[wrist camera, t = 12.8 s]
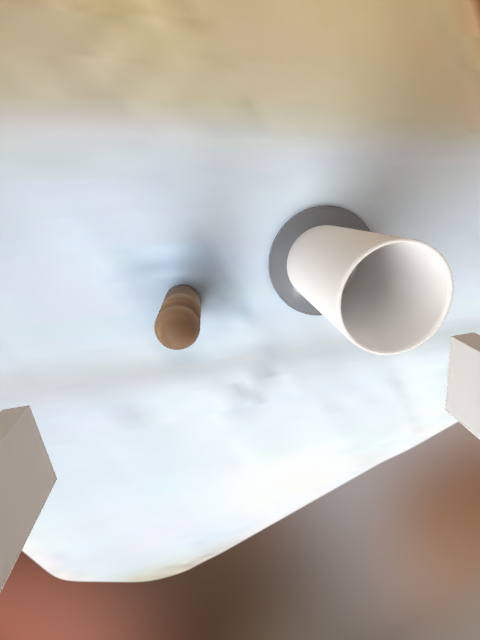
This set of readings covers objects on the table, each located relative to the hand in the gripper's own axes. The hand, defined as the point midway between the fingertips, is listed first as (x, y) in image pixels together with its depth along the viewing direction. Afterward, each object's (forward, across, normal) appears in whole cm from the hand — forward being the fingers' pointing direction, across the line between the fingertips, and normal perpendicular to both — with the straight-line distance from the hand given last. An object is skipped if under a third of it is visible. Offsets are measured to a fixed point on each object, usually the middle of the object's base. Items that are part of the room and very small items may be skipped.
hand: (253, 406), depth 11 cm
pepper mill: (+29, -4, -5) cm, 30 cm away
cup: (+29, +12, -2) cm, 31 cm away
